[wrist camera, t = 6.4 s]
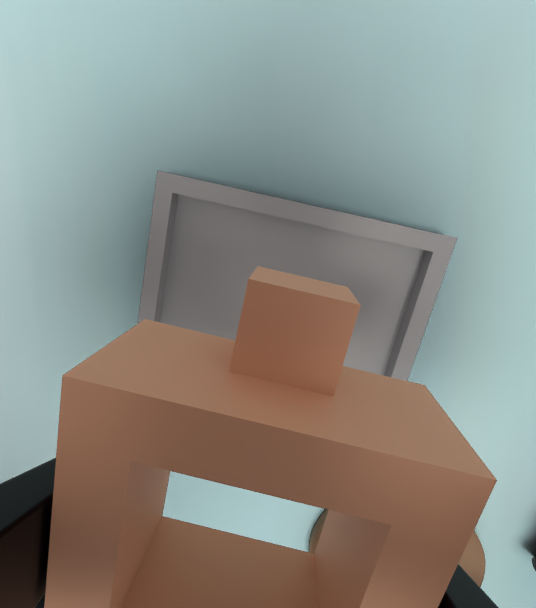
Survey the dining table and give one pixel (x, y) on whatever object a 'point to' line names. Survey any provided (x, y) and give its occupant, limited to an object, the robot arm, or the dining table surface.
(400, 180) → the dining table surface
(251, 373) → the ring
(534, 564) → the toy truck
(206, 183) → the tray
